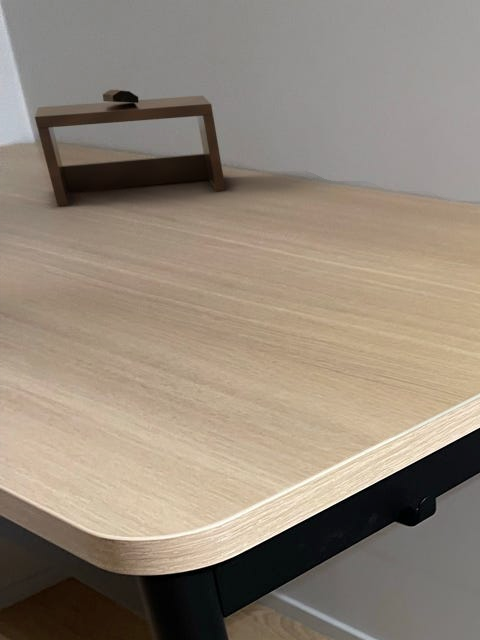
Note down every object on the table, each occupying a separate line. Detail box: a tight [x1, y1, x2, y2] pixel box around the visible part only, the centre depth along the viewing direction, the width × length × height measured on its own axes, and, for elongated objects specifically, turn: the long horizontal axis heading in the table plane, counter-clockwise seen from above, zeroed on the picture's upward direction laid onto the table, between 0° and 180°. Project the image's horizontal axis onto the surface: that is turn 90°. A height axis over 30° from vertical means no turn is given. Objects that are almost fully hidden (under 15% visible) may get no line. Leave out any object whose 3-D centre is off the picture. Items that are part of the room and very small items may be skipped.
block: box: [102, 89, 140, 103], centre depth 119 cm, size 4×6×2 cm, turn 30°
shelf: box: [34, 95, 227, 207], centre depth 123 cm, size 20×10×10 cm, turn 109°
